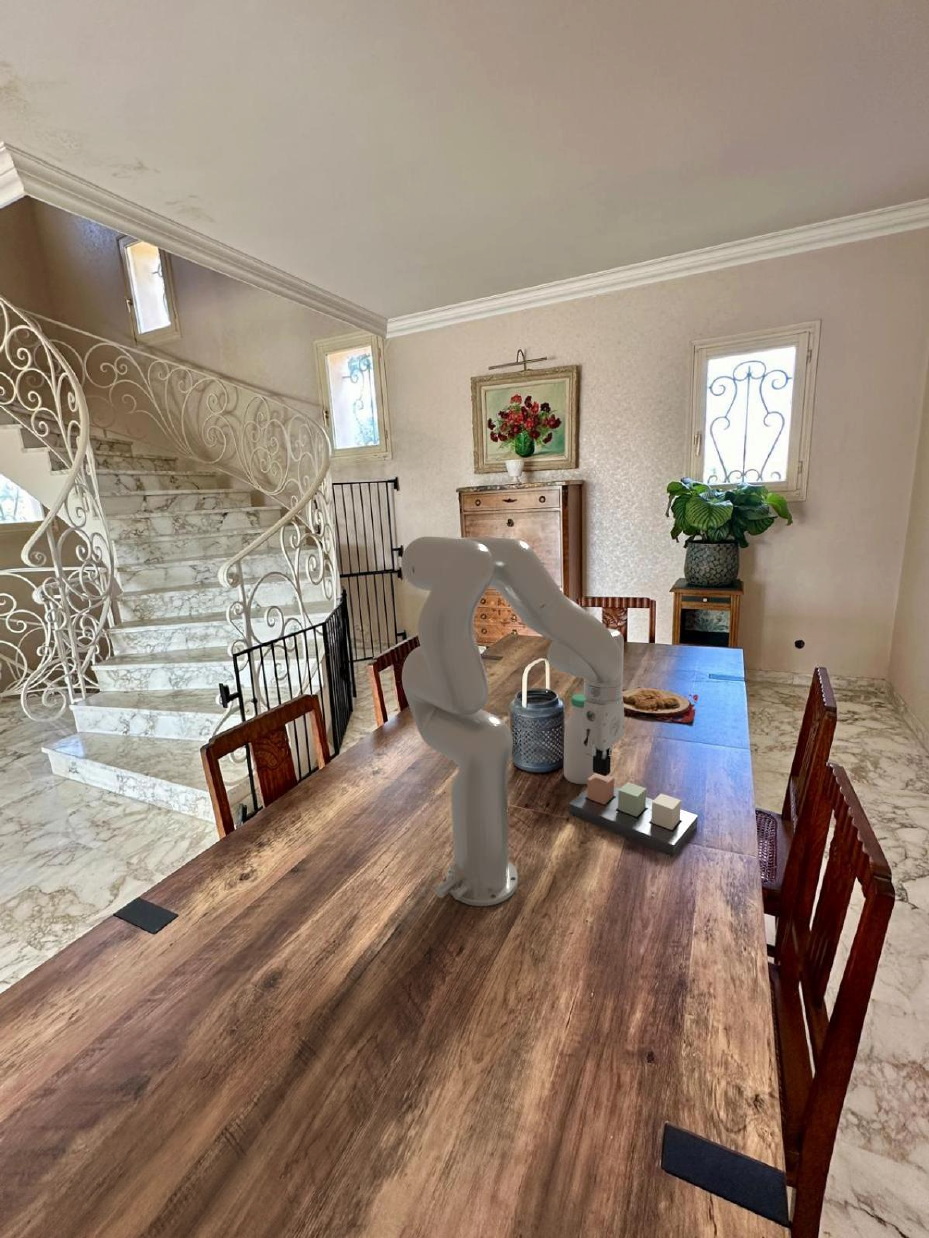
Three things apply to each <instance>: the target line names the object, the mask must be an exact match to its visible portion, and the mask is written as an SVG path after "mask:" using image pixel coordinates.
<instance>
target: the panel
mask: <svg viewBox="0 0 929 1238" xmlns="http://www.w3.org/2000/svg"><path fill="white" fill-rule="evenodd" d="M620 788H621V787H618V786H615V785H614V797H612V798H611V799H610V800H609V801H608V802H607V803H606V804H605V806H604V804H601V803H598V802H596V801H594V800H591V799H588V798H587V788H586V789H584V790H583V791H582V792H581V793H580V794H579V795H578V796H576V797H575V798H573V799H572V800H571V801H570V802H569V803H568V815H569V816H572V817H574V818H576V819H578V820H581V821H583V822H585V823H588V824H591V825H593V826H596V827H598V828H600V829H603V830H606V831H607V832H610V833H613V834H615V835H618V836H621V837H622V838H624V839H627V840H628V841H632V842H634V843H636V844H640V845H642V846H644V847H647V848H649V849H652V850H654V851H657V852H659V853H660V854H661V853H662V854H664V855H666V856H668V857H671V858H674V857H675V855H676V854H677V853H678V852H679V850H681V848H682V847H683V845H685V843H686V841H687V840H688V839H689V838H690V837H691V835H692V834H693V833H694V832H695V830H696V829H697V827H698V815H697V814H696V813H691V812H689V811H686V810H683V809H682V808H681V809H680V821H679V822H678V823H677V824H676V826H675V827H674V828H673V829H672V830H673V831H672V830H671V831H670V830H669V829H666V828H665V829H664V827H661V826H659V825H657V824H654V823H652V822H651V818H652V802H653V801H654V800H655V799H652V798H649V797H647V796H646V806H645V809H644V810H643V811H642V812H641V813H640V814H639V815H638V816H637V817H638V818H637V817H635V816H634V817H633V816H632V815H630V814H629V815H628V814H627V813H625V812H623V811H620V810H618V792H619V789H620Z"/></svg>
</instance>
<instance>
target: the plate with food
mask: <svg viewBox="0 0 929 1238" xmlns="http://www.w3.org/2000/svg"><path fill="white" fill-rule="evenodd" d="M622 697H623V703H624V716H625V715H629V716H630V715H631V716H637V717H639V716H640V717H641V718H644V719H645V718H646V716H644V715H642V714H638V713H644V714H653V715H654V717H652V718H651V719H652V720H653V719H655V720H658V721H660V720H661V721H662V722H664V721H665V722H667V723H671V722H678V723H680V722H681V723H691V722H694V718H695V714H696V709H695V708H694V706H695V705H697V704H698V698H699V695H698V694H694V695H692V694H691V693H690V694H689V697H691V700H692V699H693V702H694V704H692V702H691V700H690V699H688V698H686V696H682V695H681V694H678V693H676V692H673V691H671V690H663V689H660V688H656V687H655V688H654V687H653V688H651V687H640V686H637V687H636V688H630V689H629V688H628V689H622ZM675 718H677V719H675ZM678 718H680V720H679V719H678Z"/></svg>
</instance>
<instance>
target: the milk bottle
mask: <svg viewBox="0 0 929 1238" xmlns="http://www.w3.org/2000/svg"><path fill="white" fill-rule="evenodd" d="M570 702H571V705H570V706H571V713H570V715H569V717H568V719H567V721H566V724H565V727H564V737H563V775H564V778H565V779H566V780H567V781H568V782H570V783H572V784H576V785H587V781H588V778H590V777H591V776H592V775H593V774H595V773H594V772H593V756H590V755H587V754H586V751H587V746H584V745H583V742H582V721H583V710H584V703H585V698H584V693H581V694H580V693H579V694H574V695H572V697H571V699H570Z"/></svg>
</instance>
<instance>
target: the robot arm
mask: <svg viewBox="0 0 929 1238" xmlns="http://www.w3.org/2000/svg"><path fill="white" fill-rule="evenodd" d="M400 563H401V571H402V574H403V576H404V578H405V579H406V581H407V582H408V583H410V584H411V585H412V586H413V587H415V588H417V589H420V590H423V591H424V590H425V591H428V592H429V591H430V592H429V594H428V596H427V598H426V600H425V602H424V604H423V606H422V608H421V610H420V613H419V617H418V621H417V626H416V627H417V629H416V631H417V632H416V633H417V638H418V642H419V645H420V646H417V647H415V648H414V649H412V651H410V653H408V655H407V657H406V659H405V661H404V662H403V666H402V670H401V681H402V683H401V684H402V688H403V690H404V695H405V698H406V700H407V703H408V705H409V709H410V712H411V714H412V718H413V720H414V723H415V726H416V728H417V730H418V733H419V735H420V736H421V738H422V740H423V741H424V743H425V744H426V745H427V746H428V747H430V748H432V749H433V750H434V751H436V752H438V753H440V754H442V755H443V756H445V757H447V758H448V759H450V760H451V761H453V762H455V764H456V765H457V767H458V768H457V769H458V770H457V774H456V775H455V777H454V779H453V781H452V782H451V786H450V787H451V788H450V804H451V821H452V823H451V824H452V840H453V842H452V843H453V844H452V845H453V863H451V865H450V866H449V867H448V869H447V871H446V874H445V881H443V882H441V883H440V884H438V885H437V886H436V887H435V889H434V890H435V894H436V895H437V897H438V898H440V899H443V898H445V897H446V896H447V895H448V894H450V895H451V896H453V899H455V900H456V901H457V900H458V901H459V902H461V903H464V904H467V905H470V906H474V907H490V906H494V905H497V904H500V903H502V902H504V901H506V900H508V899H509V898H510V897H511V896H512V895H513V894H514V893H515V891H516V890H517V888H518V886H519V885H518V884H519V873H518V870H517V868H516V867H515V866H514V865H515V864H513V863H512V862H511V861H510V859H509V857H510V856H509V855H510V854H509V850H510V849H509V846H510V845H509V807H508V806H509V804H508V802H509V801H508V778H509V767H510V763H511V762H510V761H511V756H512V752H513V747H514V746H513V743H514V742H513V741H514V737H513V734H512V731H511V729H510V727H509V726H508V725H507V723H505V721H503V720H502V719H501V718H500V717H498V716H496V715H495V714H492V713H490V712H488V711H487V710H483V708H484V707H485V706H486V704H487V702H488V699H489V692H490V691H489V690H490V689H489V688H490V686H489V681H488V677H487V673H486V669H485V667H484V663H483V659H482V655H481V651H480V648H479V645H478V640H477V637H476V631H475V625H474V624H475V623H474V622H475V616H476V612H477V609H478V607H479V604H480V602H481V601H482V599H483V597H484V595H485V593H486V592H487V590H488V588H489V589H494V590H496V591H498V592H499V594H500V595H501V596H502V597H503V598H504V600H505V602H507V604H508V605H509V606H510V607H511V608H512V610H513V611H514V613H515V614H516V615H517V616H518V617H519V619H520V620H521V621H522V623H523V624H524V625H525V627H527V628H528V629H530V630H532V631H533V632H535V633H537V634H538V635H540V636H542V637H544V638H546V639H548V640H551V641H552V642H551V643H550V644H549V647H548V649H547V660H548V663H549V664H550V666H551V667H553V669H555V670H556V671H558V672H560V673H563V674H566V675H569V676H573V677H577V678H581V679H583V694H584V698H585V703H584V710H583V721H582V742H583V745H584V746H587V751H586V754H587V755H590V756H593V772H594V773H597V774H600V775H603V776H607V775H608V776H609V775H610V774H611V755H612V753H613V745H615V744H616V743H618V742H619V741H620V740H621V739H622V738H623V737H624V735H625V715H624V703H623V697H622V690H623V688H624V687H623V684H624V683H623V681H624V679H623V678H624V651H625V650H624V649H625V648H624V645H625V642H624V640H625V639H624V635H623V634H622V633H621V631H620V630H617V629H614V628H607V626H606V625H605V624H604V623H603V622H601V621H600V620H599V619H598V618H597V617H595V616H594V615H592V614H591V613H590V612H588V610H586V609H584V607H582V606H581V605H579V604H578V603H576V602H575V601H573V600H572V599H571V598H569V597H567V595H565V594H564V593H563V591H562V590H561V589H560V587H559V586H558V584H557V583H556V581H555V580H554V578H553V577H552V575H551V574H550V573H549V571H548V569H547V568H546V567H545V565H544V563H543V562H542V561H541V559H540V558H539V556H538V555H537V554H536V552H535V551H534V549H533V548H532V547H531V546H530V545H529V544H528V543H526V542H525V541H523V540H520V539H517V538H516V539H515V538H505V537H504V538H503V537H502V538H501V537H488V536H473V537H466V536H465V537H462V536H461V537H452V536H449V537H448V536H421V537H418V538H416V539H414V540H413V541H411V542H410V543H409V544H408V545H407V546H406V548H405V549H404V551H403V553H402V556H401V562H400Z"/></svg>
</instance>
